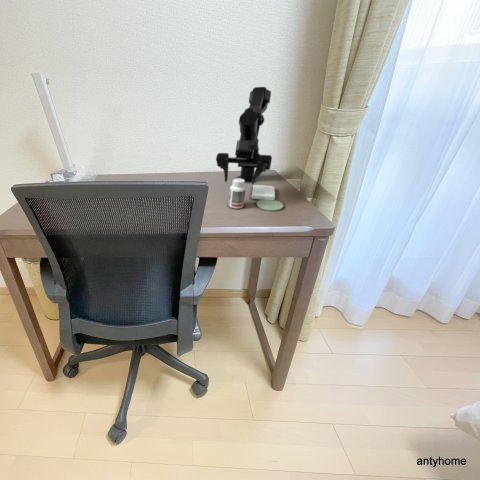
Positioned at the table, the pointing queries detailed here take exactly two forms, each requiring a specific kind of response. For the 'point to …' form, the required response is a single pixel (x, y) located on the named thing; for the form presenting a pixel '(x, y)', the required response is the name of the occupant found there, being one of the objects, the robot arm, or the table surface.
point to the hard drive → (263, 192)
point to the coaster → (270, 205)
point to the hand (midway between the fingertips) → (238, 182)
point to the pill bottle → (237, 193)
